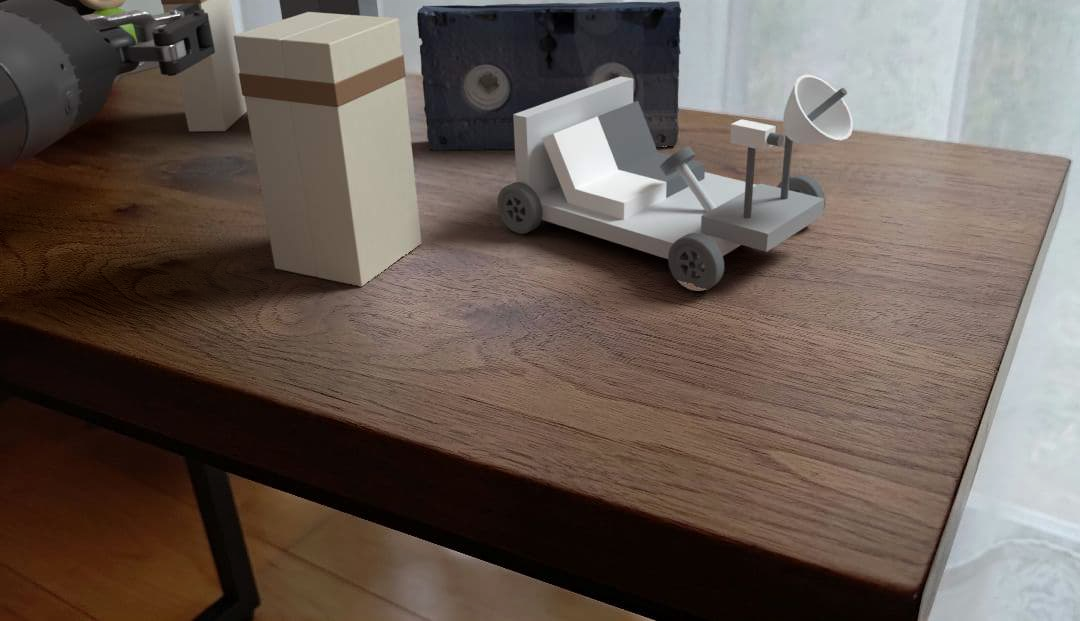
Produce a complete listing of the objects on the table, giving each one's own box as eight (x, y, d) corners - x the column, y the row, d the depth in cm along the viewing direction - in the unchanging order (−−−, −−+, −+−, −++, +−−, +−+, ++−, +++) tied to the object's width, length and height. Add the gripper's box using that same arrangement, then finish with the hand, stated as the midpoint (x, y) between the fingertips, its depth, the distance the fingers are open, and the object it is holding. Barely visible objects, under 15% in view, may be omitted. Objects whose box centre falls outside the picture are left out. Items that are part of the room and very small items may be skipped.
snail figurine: (71, 67, 100) (39, -59, 95) (128, 53, 105) (100, -68, 99) (101, 74, 97) (70, -56, 92) (158, 59, 102) (132, -65, 96)
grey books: (299, 130, 79) (270, -57, 72) (318, 107, 84) (293, -68, 78) (373, 128, 78) (351, -59, 72) (388, 106, 84) (369, -70, 77)
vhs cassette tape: (677, 137, 74) (681, -1, 69) (678, 150, 71) (682, 7, 67) (434, 138, 76) (422, 4, 71) (426, 151, 73) (413, 12, 69)
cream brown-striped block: (273, 269, 56) (231, 35, 50) (338, 229, 61) (307, 11, 55) (361, 287, 53) (329, 44, 47) (423, 244, 58) (400, 17, 52)
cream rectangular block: (188, 132, 79) (152, -39, 73) (214, 109, 85) (183, -51, 79) (225, 131, 79) (193, -40, 73) (250, 109, 85) (221, -52, 79)
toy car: (888, 66, 52) (774, 121, 45) (866, 238, 57) (759, 314, 49) (616, 26, 63) (487, 65, 55) (616, 173, 67) (497, 227, 60)
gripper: (118, 6, 51) (227, -42, 65) (-145, 15, 52) (19, -35, 66) (151, 148, 54) (247, 72, 69) (-97, 153, 55) (49, 78, 70)
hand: (135, 20), depth 67 cm, fingers open, 8 cm apart
